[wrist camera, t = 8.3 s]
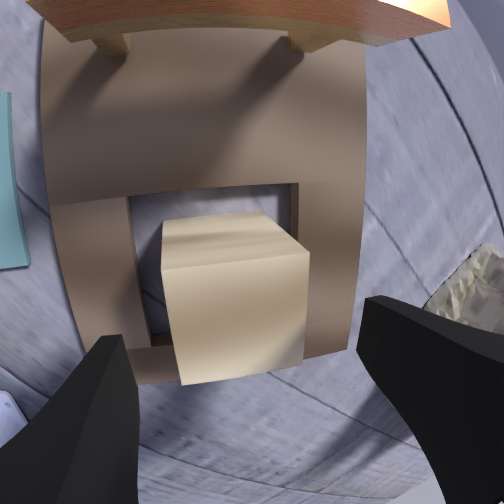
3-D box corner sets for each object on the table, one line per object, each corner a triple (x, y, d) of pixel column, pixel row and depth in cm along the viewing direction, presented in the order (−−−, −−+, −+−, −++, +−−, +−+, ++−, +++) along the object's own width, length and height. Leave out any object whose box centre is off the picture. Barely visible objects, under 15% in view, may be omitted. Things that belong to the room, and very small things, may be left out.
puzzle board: (339, 340, 19) (346, 349, 18) (101, 375, 16) (99, 387, 15) (349, 2, 12) (359, -4, 11) (54, 4, 9) (48, -3, 8)
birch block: (262, 296, 16) (302, 364, 11) (174, 308, 15) (181, 385, 10) (261, 210, 15) (309, 252, 10) (163, 220, 14) (160, 270, 9)
